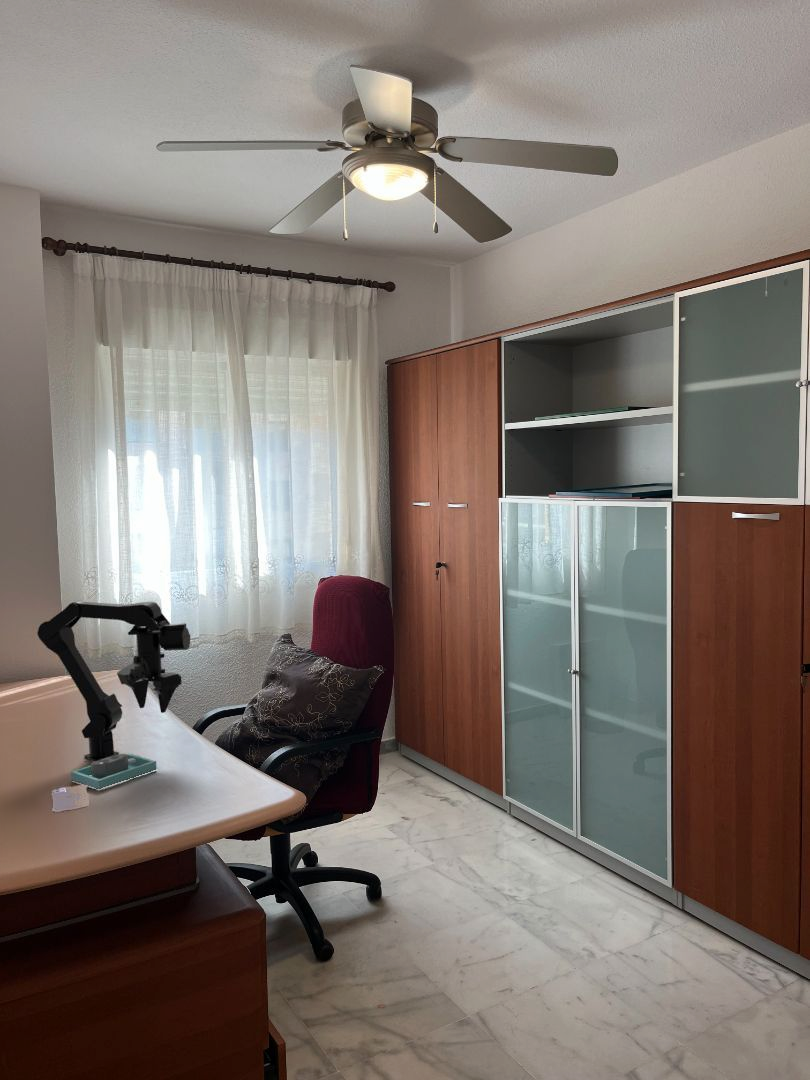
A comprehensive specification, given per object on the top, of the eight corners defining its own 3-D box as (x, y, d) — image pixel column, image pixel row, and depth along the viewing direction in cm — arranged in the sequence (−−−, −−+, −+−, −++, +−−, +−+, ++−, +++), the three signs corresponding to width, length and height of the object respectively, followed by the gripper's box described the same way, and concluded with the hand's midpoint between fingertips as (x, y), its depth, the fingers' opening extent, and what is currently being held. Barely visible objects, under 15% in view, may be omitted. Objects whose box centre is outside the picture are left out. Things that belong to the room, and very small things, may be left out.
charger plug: (98, 783, 186) (97, 766, 185) (89, 779, 188) (87, 763, 188) (139, 769, 194) (138, 753, 194) (129, 766, 197) (128, 750, 196)
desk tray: (71, 782, 188) (71, 771, 188) (129, 762, 201) (128, 753, 201) (98, 791, 181) (98, 780, 181) (156, 771, 194) (156, 761, 194)
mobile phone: (52, 810, 169) (51, 788, 183) (52, 815, 170) (51, 792, 183) (90, 803, 173) (86, 782, 186) (90, 807, 173) (86, 786, 186)
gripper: (100, 653, 204) (104, 712, 205) (143, 660, 192) (147, 723, 193) (138, 645, 213) (141, 702, 213) (181, 651, 201) (184, 712, 202)
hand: (152, 710), depth 205 cm, fingers open, 9 cm apart
